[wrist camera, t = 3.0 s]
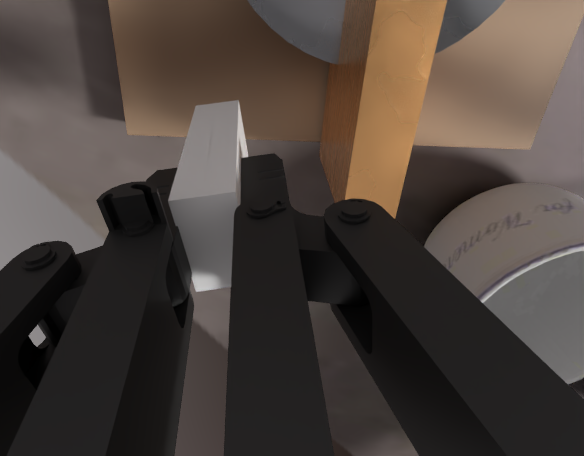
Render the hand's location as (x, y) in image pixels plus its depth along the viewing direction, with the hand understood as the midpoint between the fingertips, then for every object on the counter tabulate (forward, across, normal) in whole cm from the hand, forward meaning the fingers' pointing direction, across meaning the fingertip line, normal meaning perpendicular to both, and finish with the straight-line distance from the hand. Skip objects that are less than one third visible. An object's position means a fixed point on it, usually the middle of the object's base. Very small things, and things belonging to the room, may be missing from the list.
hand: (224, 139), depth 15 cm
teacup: (+6, -13, +11) cm, 18 cm away
